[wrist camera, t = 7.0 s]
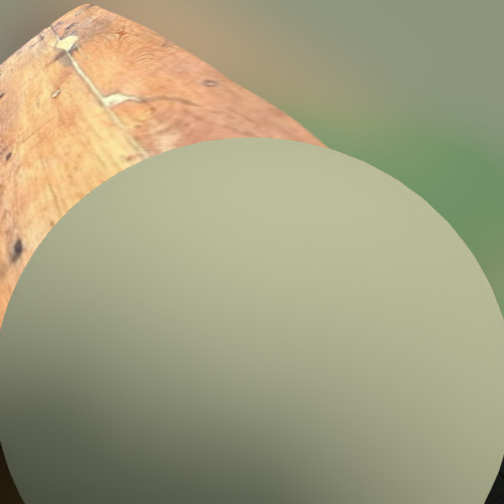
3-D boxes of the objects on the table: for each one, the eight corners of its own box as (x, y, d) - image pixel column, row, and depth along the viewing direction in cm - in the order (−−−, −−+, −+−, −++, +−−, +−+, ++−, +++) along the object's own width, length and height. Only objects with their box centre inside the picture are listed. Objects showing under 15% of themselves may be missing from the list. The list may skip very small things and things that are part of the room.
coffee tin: (237, 453, 13) (52, 596, 1) (216, 345, 16) (6, 214, 4) (353, 430, 13) (522, 548, 1) (327, 320, 15) (397, 103, 3)
